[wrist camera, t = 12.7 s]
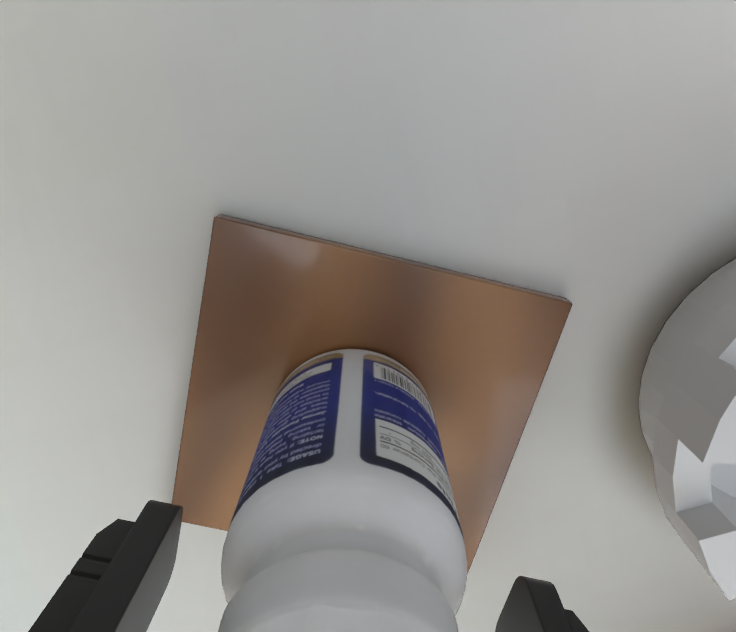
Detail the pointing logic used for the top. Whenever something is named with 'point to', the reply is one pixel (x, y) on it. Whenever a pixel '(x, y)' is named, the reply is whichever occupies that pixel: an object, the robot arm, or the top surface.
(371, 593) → the pill bottle
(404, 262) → the coaster
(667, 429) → the grey countertop holder stand
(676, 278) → the top surface
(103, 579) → the robot arm
